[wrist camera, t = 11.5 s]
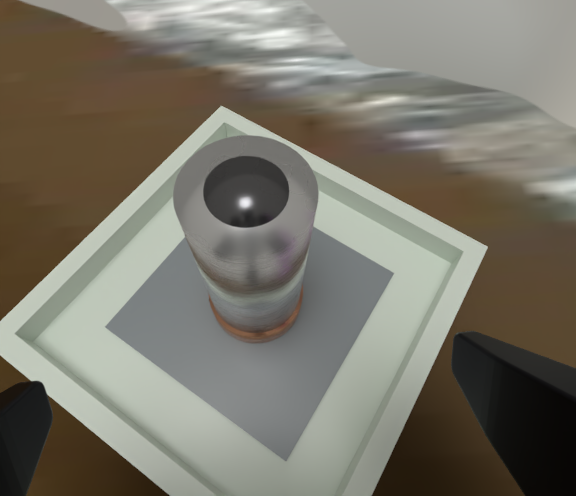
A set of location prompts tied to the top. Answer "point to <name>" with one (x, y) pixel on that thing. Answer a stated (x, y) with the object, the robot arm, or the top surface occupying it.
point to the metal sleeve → (249, 231)
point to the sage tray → (240, 355)
